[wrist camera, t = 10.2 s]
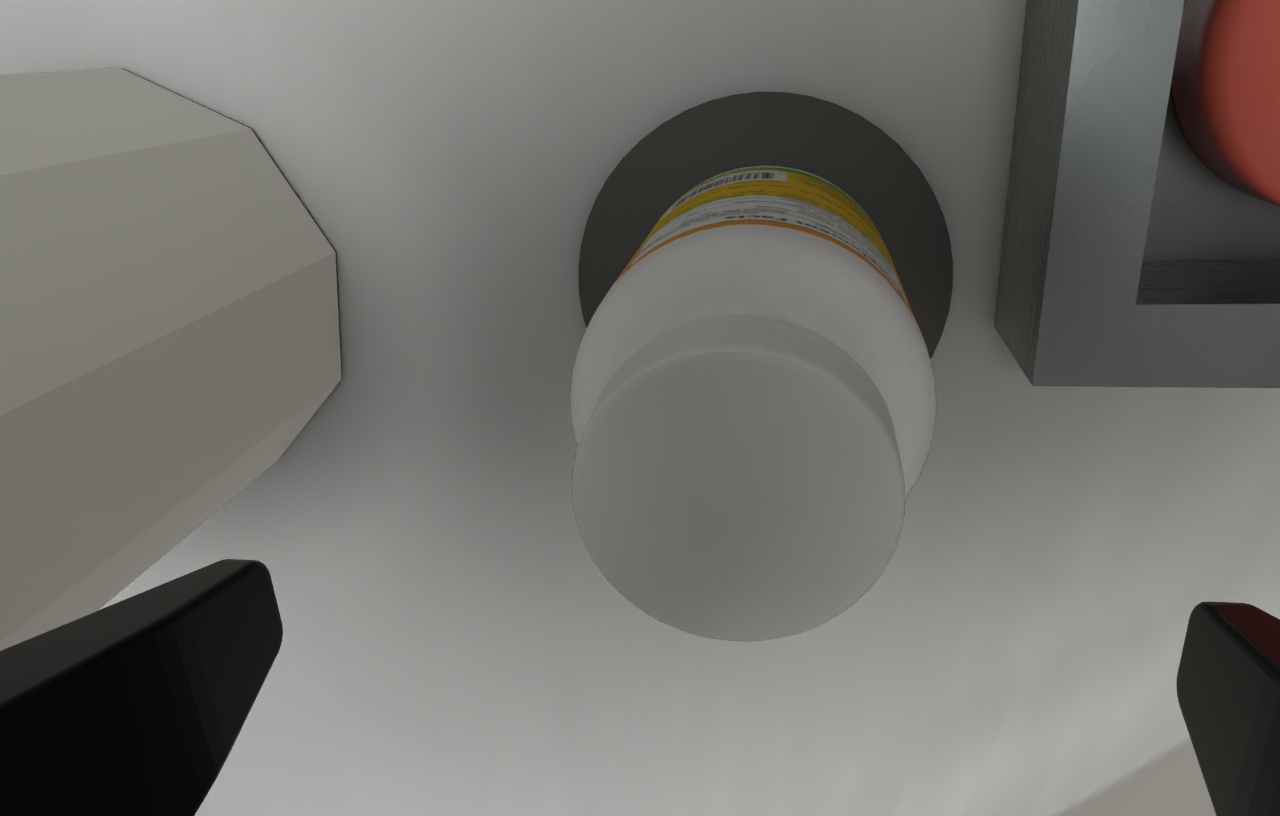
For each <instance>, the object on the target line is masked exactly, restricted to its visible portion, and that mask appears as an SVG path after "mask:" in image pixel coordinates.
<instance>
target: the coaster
mask: <svg viewBox="0 0 1280 816" xmlns="http://www.w3.org/2000/svg"><path fill="white" fill-rule="evenodd" d="M753 166H781V167H787V168H793V169H798V170H802V171H806V172H808V173H811V174H814V175H816V176H819V177H821V178H823V179H825V180H827V181H829V182H830V183H832V184H834V185H836V186H837V187H839V188H840V189H841V190H842V191H844V192H845V193H846V194H847V195H849V196H850V197H851V198H852V199H853V200H854V201H855V202H856V203H857V204H858V205H859V206H860V207H861V208H862V209H863V210H864V211H865V212H866V214H867V215H868V216H869V217H870V219H871V220H872V222H873V223H874V224H875V226H876V228H877V229H878V231H879V233H880V235H881V236H882V238H883V240H884V242H885V244H886V246H887V249H888V251H889V253H890V256H891V259H892V261H893V264H894V266H895V269H896V272H897V274H898V277H899V279H900V282H901V284H902V287H903V289H904V292H905V294H906V297H907V300H908V302H909V305H910V307H911V310H912V312H913V314H914V316H915V319H916V321H917V323H918V326H919V328H920V331H921V334H922V336H923V339H924V341H925V343H926V347H927V350H928V354H929V357H930V359H931V357H932V355H933V353H934V351H935V349H936V346H937V344H938V342H939V340H940V337H941V335H942V332H943V329H944V326H945V322H946V319H947V315H948V312H949V306H950V300H951V293H952V280H953V261H952V253H951V246H950V238H949V234H948V231H947V227H946V224H945V220H944V216H943V213H942V211H941V209H940V206H939V204H938V202H937V200H936V197H935V195H934V193H933V190H932V189H931V187H930V186H929V184H928V182H927V181H926V179H925V178H924V176H923V174H922V173H921V171H920V170H919V168H918V167H917V166H916V165H915V163H914V162H913V161H912V160H911V159H910V158H909V156H908V155H907V154H906V153H905V152H904V150H903V149H902V148H901V147H900V146H899V145H898V144H897V143H896V142H894V141H893V140H892V139H891V138H890V137H889V136H888V135H887V134H885V133H884V132H883V131H882V130H881V129H879V128H878V127H876V126H875V125H873V124H872V123H870V122H869V121H867V120H866V119H864V118H863V117H861V116H860V115H858V114H855V113H853V112H851V111H849V110H847V109H845V108H843V107H841V106H838V105H836V104H833V103H830V102H827V101H823V100H820V99H817V98H814V97H810V96H804V95H798V94H792V93H785V92H754V93H746V94H737V95H731V96H727V97H723V98H720V99H716V100H712V101H708V102H706V103H703V104H701V105H698V106H696V107H693V108H691V109H688V110H686V111H684V112H682V113H680V114H679V115H677V116H675V117H673V118H672V119H670V120H668V121H667V122H665V123H663V124H662V125H660V126H659V127H658V128H656V129H655V130H654V131H652V132H651V133H650V134H649V135H647V136H646V137H645V138H643V139H642V140H641V141H640V142H639V143H638V144H637V145H636V146H635V147H634V148H633V149H632V150H631V151H630V152H629V153H628V154H627V155H626V156H625V157H624V158H623V159H622V160H621V162H620V163H619V164H618V165H617V167H616V168H615V169H614V171H613V172H612V173H611V175H610V176H609V177H608V179H607V181H606V182H605V184H604V186H603V188H602V189H601V191H600V193H599V195H598V197H597V198H596V200H595V203H594V205H593V208H592V210H591V213H590V215H589V218H588V220H587V224H586V228H585V232H584V236H583V240H582V244H581V251H580V260H579V294H580V300H581V307H582V313H583V317H584V320H585V324H586V327H588V325H589V323H590V321H591V319H592V317H593V315H594V314H595V312H596V310H597V308H598V307H599V305H600V303H601V302H602V300H603V299H604V297H605V296H606V294H607V293H608V291H609V290H610V288H611V287H612V286H613V284H614V283H615V281H616V280H617V278H618V277H619V276H620V274H621V273H622V271H623V270H624V269H625V267H626V266H627V265H628V263H629V262H630V260H631V259H632V258H633V256H634V255H635V253H636V252H637V251H638V249H639V248H640V246H641V245H642V244H643V242H644V241H645V239H646V238H647V237H648V235H649V234H650V232H651V231H652V229H653V228H654V226H655V225H656V224H657V222H658V221H659V219H660V218H661V217H662V215H663V214H664V213H665V212H666V211H667V210H668V209H669V208H670V207H671V206H672V205H673V204H674V203H675V202H676V201H677V200H678V199H679V198H680V197H682V196H683V195H684V194H685V193H687V192H688V191H689V190H691V189H692V188H694V187H695V186H697V185H698V184H700V183H702V182H704V181H706V180H708V179H709V178H712V177H714V176H716V175H718V174H721V173H724V172H727V171H731V170H734V169H739V168H744V167H753Z"/></svg>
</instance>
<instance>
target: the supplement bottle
mask: <svg viewBox="0 0 1280 816" xmlns="http://www.w3.org/2000/svg"><path fill="white" fill-rule="evenodd" d="M570 408H571V417H572V426H573V431H574V436H575V440H576V444H577V447H578V448H577V452H576V456H575V461H574V466H573V475H572V496H573V506H574V512H575V518H576V522H577V525H578V529H579V532H580V535H581V537H582V539H583V542H584V544H585V546H586V548H587V550H588V552H589V554H590V556H591V558H592V559H593V561H594V562H595V564H596V565H597V566H598V568H599V569H600V571H601V572H602V573H603V575H604V576H605V577H606V579H607V580H608V581H609V582H610V583H611V584H612V585H613V586H614V587H615V588H616V589H617V590H618V591H619V592H620V593H621V594H622V595H623V596H624V597H625V598H627V599H628V600H629V601H630V602H632V603H633V604H634V605H636V606H637V607H639V608H640V609H641V610H643V611H644V612H645V613H647V614H648V615H650V616H652V617H654V618H655V619H657V620H659V621H661V622H663V623H666V624H668V625H670V626H673V627H675V628H677V629H680V630H682V631H685V632H688V633H691V634H695V635H699V636H703V637H707V638H713V639H721V640H732V641H762V640H769V639H776V638H781V637H785V636H789V635H794V634H797V633H801V632H804V631H806V630H809V629H812V628H815V627H817V626H819V625H821V624H823V623H825V622H827V621H828V620H830V619H832V618H834V617H835V616H837V615H839V614H840V613H842V612H844V611H845V610H847V609H848V608H849V607H851V606H852V605H853V604H854V603H855V602H856V601H858V600H859V599H860V598H861V597H862V596H863V595H864V594H865V593H866V592H867V591H868V590H869V589H870V588H871V587H872V586H873V584H874V583H875V582H876V581H877V579H878V578H879V577H880V575H881V574H882V572H883V571H884V569H885V567H886V566H887V564H888V562H889V561H890V559H891V557H892V555H893V553H894V551H895V548H896V545H897V542H898V539H899V536H900V532H901V528H902V524H903V519H904V513H905V500H906V497H907V495H908V494H909V492H910V491H911V489H912V487H913V486H914V484H915V482H916V481H917V479H918V477H919V475H920V473H921V471H922V469H923V466H924V464H925V462H926V459H927V456H928V453H929V450H930V446H931V442H932V437H933V433H934V427H935V418H936V389H935V379H934V374H933V369H932V365H931V361H930V357H929V354H928V350H927V347H926V343H925V341H924V339H923V336H922V334H921V331H920V328H919V326H918V323H917V321H916V319H915V316H914V314H913V312H912V310H911V307H910V305H909V302H908V300H907V297H906V294H905V292H904V289H903V287H902V284H901V282H900V279H899V277H898V274H897V272H896V269H895V266H894V264H893V261H892V259H891V256H890V253H889V251H888V249H887V246H886V244H885V242H884V240H883V238H882V236H881V235H880V233H879V231H878V229H877V228H876V226H875V224H874V223H873V222H872V220H871V219H870V217H869V216H868V215H867V214H866V212H865V211H864V210H863V209H862V208H861V207H860V206H859V205H858V204H857V203H856V202H855V201H854V200H853V199H852V198H851V197H850V196H849V195H847V194H846V193H845V192H844V191H842V190H841V189H840V188H839V187H837V186H836V185H834V184H832V183H830V182H829V181H827V180H825V179H823V178H821V177H819V176H816V175H814V174H811V173H808V172H806V171H802V170H798V169H793V168H787V167H781V166H753V167H744V168H739V169H734V170H731V171H727V172H724V173H721V174H718V175H716V176H714V177H712V178H709V179H708V180H706V181H704V182H702V183H700V184H698V185H697V186H695V187H694V188H692V189H691V190H689V191H688V192H687V193H685V194H684V195H683V196H682V197H680V198H679V199H678V200H677V201H676V202H675V203H674V204H673V205H672V206H671V207H670V208H669V209H668V210H667V211H666V212H665V213H664V214H663V215H662V217H661V218H660V219H659V221H658V222H657V224H656V225H655V226H654V228H653V229H652V231H651V232H650V234H649V235H648V237H647V238H646V239H645V241H644V242H643V244H642V245H641V246H640V248H639V249H638V251H637V252H636V253H635V255H634V256H633V258H632V259H631V260H630V262H629V263H628V265H627V266H626V267H625V269H624V270H623V271H622V273H621V274H620V276H619V277H618V278H617V280H616V281H615V283H614V284H613V286H612V287H611V288H610V290H609V291H608V293H607V294H606V296H605V297H604V299H603V300H602V302H601V303H600V305H599V307H598V308H597V310H596V312H595V314H594V315H593V317H592V319H591V321H590V323H589V325H588V327H587V329H586V331H585V333H584V335H583V338H582V341H581V344H580V346H579V349H578V352H577V356H576V360H575V364H574V367H573V374H572V382H571V391H570Z"/></svg>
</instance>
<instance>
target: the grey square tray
mask: <svg viewBox="0 0 1280 816" xmlns="http://www.w3.org/2000/svg"><path fill="white" fill-rule="evenodd" d="M1185 3H1186V0H1027V9H1026V18H1025V28H1024V38H1023V48H1022V58H1021V68H1020V78H1019V88H1018V98H1017V108H1016V118H1015V128H1014V138H1013V148H1012V158H1011V168H1010V178H1009V188H1008V198H1007V208H1006V218H1005V228H1004V237H1003V247H1002V257H1001V267H1000V277H999V287H998V297H997V307H996V317H995V328H996V330H997V331H998V333H999V335H1000V336H1001V338H1002V339H1003V341H1004V342H1005V344H1006V345H1007V347H1008V349H1009V350H1010V352H1011V353H1012V355H1013V356H1014V358H1015V359H1016V361H1017V363H1018V364H1019V366H1020V367H1021V369H1022V370H1023V372H1024V374H1025V375H1026V377H1027V378H1028V380H1029V381H1030V383H1031V384H1032V386H1109V387H1228V388H1280V207H1279V206H1277V205H1274V204H1272V203H1269V202H1266V201H1264V200H1261V199H1258V198H1256V197H1253V196H1251V195H1249V194H1247V193H1245V192H1243V191H1241V190H1238V189H1236V188H1235V187H1233V186H1232V185H1230V184H1229V183H1227V182H1226V181H1224V180H1223V179H1221V178H1220V177H1218V176H1217V175H1216V174H1215V173H1214V172H1213V171H1212V170H1211V169H1210V168H1209V167H1208V166H1207V165H1206V164H1205V163H1204V162H1203V161H1202V160H1201V158H1200V157H1199V156H1198V154H1197V153H1196V152H1195V151H1194V149H1193V148H1192V146H1191V144H1190V142H1189V141H1188V139H1187V137H1186V135H1185V133H1184V131H1183V129H1182V126H1181V123H1180V121H1179V118H1178V115H1177V112H1176V108H1175V102H1174V97H1173V92H1172V75H1173V68H1174V62H1175V56H1176V50H1177V44H1178V37H1179V31H1180V25H1181V19H1182V13H1183V9H1184V6H1185Z"/></svg>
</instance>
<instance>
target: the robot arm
mask: <svg viewBox="0 0 1280 816" xmlns="http://www.w3.org/2000/svg"><path fill="white" fill-rule="evenodd" d="M282 636H283V627H282V621H281V617H280V613H279V609H278V605H277V601H276V597H275V593H274V588H273V584H272V580H271V576H270V573H269V570H268V569H267V567H266V566H265V565H264V564H263V563H261V562H260V561H256V560H236V559H226V560H221V561H218V562H216V563H213V564H211V565H208V566H206V567H204V568H201V569H199V570H196V571H194V572H191V573H189V574H187V575H184V576H182V577H179V578H177V579H174V580H172V581H169V582H167V583H165V584H162V585H160V586H157V587H155V588H152V589H150V590H147V591H145V592H143V593H140V594H138V595H135V596H133V597H130V598H128V599H125V600H123V601H121V602H118V603H116V604H113V605H111V606H108V607H106V608H104V609H101V610H99V611H96V612H94V613H91V614H89V615H86V616H84V617H82V618H79V619H77V620H74V621H72V622H69V623H67V624H64V625H62V626H60V627H57V628H55V629H52V630H50V631H47V632H45V633H42V634H40V635H38V636H35V637H33V638H30V639H28V640H25V641H23V642H20V643H18V644H16V645H13V646H11V647H8V648H6V649H3V650H1V651H0V816H194V815H195V814H196V812H197V810H198V809H199V807H200V805H201V804H202V802H203V801H204V799H205V797H206V795H207V794H208V792H209V790H210V789H211V787H212V785H213V783H214V782H215V780H216V778H217V776H218V774H219V772H220V771H221V769H222V767H223V765H224V763H225V761H226V759H227V757H228V755H229V753H230V751H231V749H232V747H233V745H234V743H235V741H236V739H237V737H238V735H239V732H240V730H241V728H242V726H243V724H244V722H245V720H246V718H247V716H248V714H249V712H250V710H251V708H252V706H253V703H254V701H255V699H256V697H257V695H258V693H259V691H260V689H261V687H262V685H263V683H264V681H265V679H266V677H267V675H268V672H269V670H270V668H271V666H272V664H273V662H274V660H275V658H276V656H277V654H278V652H279V649H280V646H281V642H282ZM1177 696H1178V701H1179V705H1180V708H1181V711H1182V714H1183V717H1184V720H1185V723H1186V726H1187V729H1188V732H1189V735H1190V738H1191V741H1192V744H1193V747H1194V750H1195V753H1196V756H1197V759H1198V762H1199V765H1200V768H1201V771H1202V774H1203V777H1204V780H1205V783H1206V786H1207V789H1208V792H1209V795H1210V798H1211V801H1212V804H1213V807H1214V810H1215V813H1216V816H1280V620H1279V619H1277V618H1275V617H1274V616H1272V615H1270V614H1268V613H1266V612H1264V611H1262V610H1260V609H1259V608H1257V607H1255V606H1253V605H1250V604H1245V603H1229V602H1201V603H1200V604H1198V605H1197V606H1195V607H1194V609H1193V611H1192V613H1191V615H1190V618H1189V623H1188V627H1187V632H1186V637H1185V642H1184V646H1183V651H1182V656H1181V660H1180V665H1179V670H1178V675H1177Z"/></svg>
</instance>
